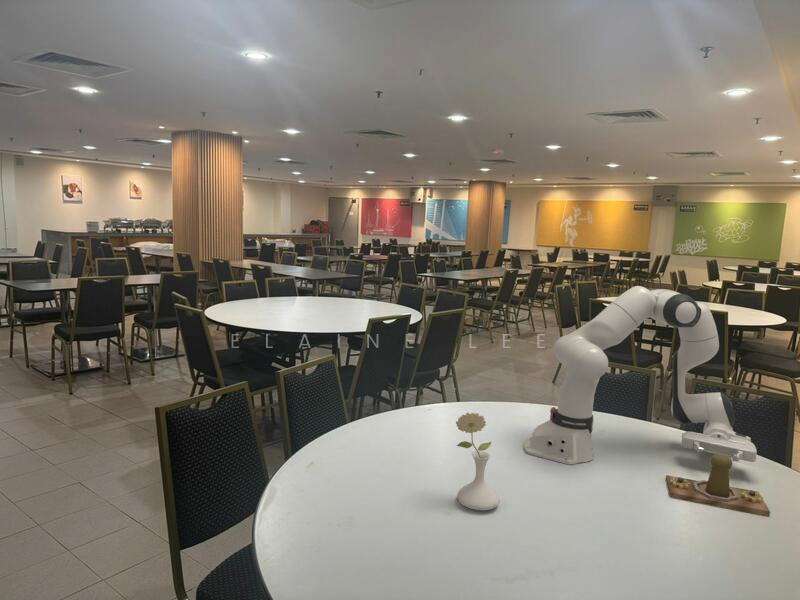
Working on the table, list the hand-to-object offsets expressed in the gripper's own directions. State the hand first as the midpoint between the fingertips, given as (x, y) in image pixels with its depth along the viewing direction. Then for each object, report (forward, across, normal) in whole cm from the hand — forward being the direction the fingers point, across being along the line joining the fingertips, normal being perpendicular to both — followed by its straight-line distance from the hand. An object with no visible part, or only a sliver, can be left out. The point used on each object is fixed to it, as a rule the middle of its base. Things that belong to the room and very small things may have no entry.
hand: (717, 454), depth 163 cm
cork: (+12, +1, +7) cm, 14 cm away
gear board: (+12, 0, +8) cm, 15 cm away
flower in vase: (+55, -55, +9) cm, 79 cm away
